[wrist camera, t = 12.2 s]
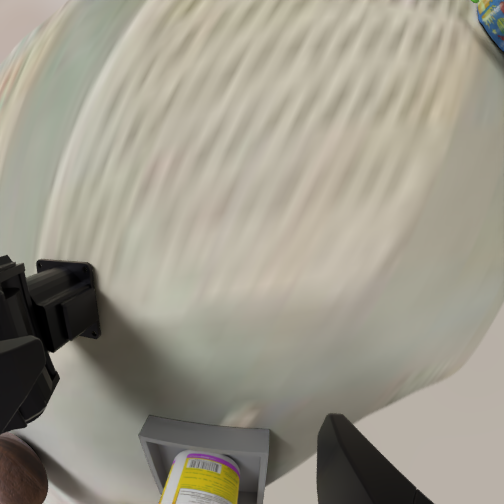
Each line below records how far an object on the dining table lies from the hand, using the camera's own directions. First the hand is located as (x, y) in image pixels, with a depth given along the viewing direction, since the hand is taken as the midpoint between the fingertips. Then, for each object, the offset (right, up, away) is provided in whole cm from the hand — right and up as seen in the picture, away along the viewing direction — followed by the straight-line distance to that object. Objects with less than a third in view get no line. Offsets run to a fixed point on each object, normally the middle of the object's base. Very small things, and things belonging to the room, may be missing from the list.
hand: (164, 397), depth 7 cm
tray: (-2, -17, +16) cm, 24 cm away
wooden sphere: (-36, -30, +21) cm, 51 cm away
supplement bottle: (-2, -17, +15) cm, 23 cm away
